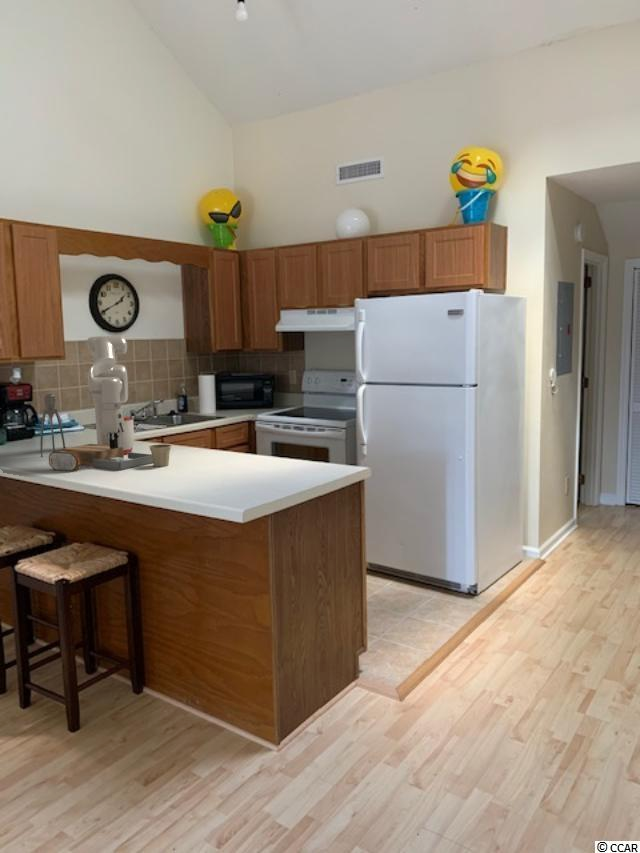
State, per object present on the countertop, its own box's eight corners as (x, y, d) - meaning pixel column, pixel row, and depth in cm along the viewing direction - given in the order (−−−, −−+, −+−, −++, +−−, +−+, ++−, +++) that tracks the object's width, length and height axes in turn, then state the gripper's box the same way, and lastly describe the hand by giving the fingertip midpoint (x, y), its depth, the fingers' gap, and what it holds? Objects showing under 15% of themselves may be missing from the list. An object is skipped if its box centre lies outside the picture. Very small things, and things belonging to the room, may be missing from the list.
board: (91, 456, 314) (91, 443, 314) (123, 460, 303) (122, 447, 302) (62, 462, 301) (61, 448, 300) (94, 466, 289) (93, 452, 289)
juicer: (66, 455, 320) (61, 392, 316) (54, 459, 309) (50, 394, 305) (46, 455, 321) (42, 392, 317) (34, 459, 310) (29, 394, 306)
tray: (129, 459, 303) (129, 452, 303) (155, 462, 294) (155, 454, 294) (93, 467, 287) (92, 459, 286) (120, 470, 278) (119, 462, 277)
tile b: (123, 457, 294) (123, 462, 294) (117, 457, 296) (117, 461, 296) (116, 459, 290) (116, 463, 291) (110, 458, 293) (110, 463, 293)
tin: (82, 470, 280) (81, 450, 279) (77, 472, 277) (76, 451, 276) (53, 469, 285) (51, 449, 284) (48, 470, 282) (46, 450, 281)
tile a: (133, 459, 290) (133, 463, 291) (126, 458, 292) (127, 462, 293) (126, 460, 287) (126, 465, 287) (119, 459, 289) (120, 464, 289)
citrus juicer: (143, 453, 320) (141, 412, 317) (107, 457, 310) (104, 415, 307) (133, 449, 332) (130, 409, 330) (97, 453, 323) (95, 412, 320)
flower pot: (176, 464, 289) (176, 444, 288) (163, 468, 281) (162, 448, 280) (159, 463, 293) (158, 443, 292) (145, 467, 285) (144, 447, 284)
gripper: (129, 406, 290) (132, 448, 292) (106, 405, 298) (109, 446, 300) (116, 408, 284) (118, 450, 286) (93, 407, 292) (95, 448, 294)
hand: (114, 448), depth 293 cm, fingers closed
